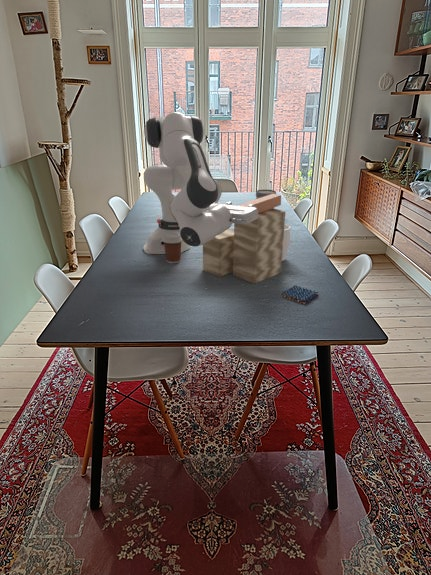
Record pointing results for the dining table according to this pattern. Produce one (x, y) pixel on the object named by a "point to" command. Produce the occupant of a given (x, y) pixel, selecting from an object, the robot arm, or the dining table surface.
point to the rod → (265, 202)
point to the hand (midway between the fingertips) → (241, 205)
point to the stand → (259, 246)
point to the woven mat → (299, 294)
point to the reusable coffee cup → (264, 193)
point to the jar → (286, 241)
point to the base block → (219, 254)
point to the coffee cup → (172, 247)
